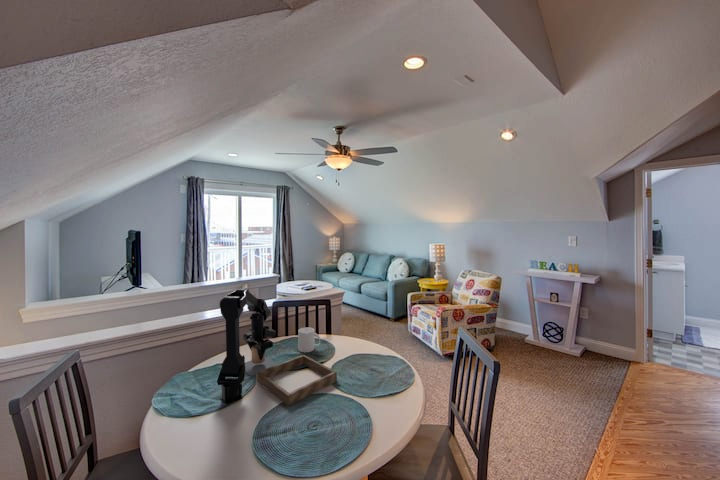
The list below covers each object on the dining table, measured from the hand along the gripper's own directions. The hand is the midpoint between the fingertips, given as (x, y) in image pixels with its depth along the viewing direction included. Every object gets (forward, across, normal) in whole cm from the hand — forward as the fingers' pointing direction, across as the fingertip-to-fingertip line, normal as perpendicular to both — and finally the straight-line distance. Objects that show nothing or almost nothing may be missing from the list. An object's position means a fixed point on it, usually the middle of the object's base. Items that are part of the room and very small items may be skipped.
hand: (258, 357), depth 143 cm
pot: (+2, 0, 0) cm, 2 cm away
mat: (+4, 0, 0) cm, 4 cm away
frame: (+4, -25, -5) cm, 26 cm away
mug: (+4, -3, -28) cm, 28 cm away
